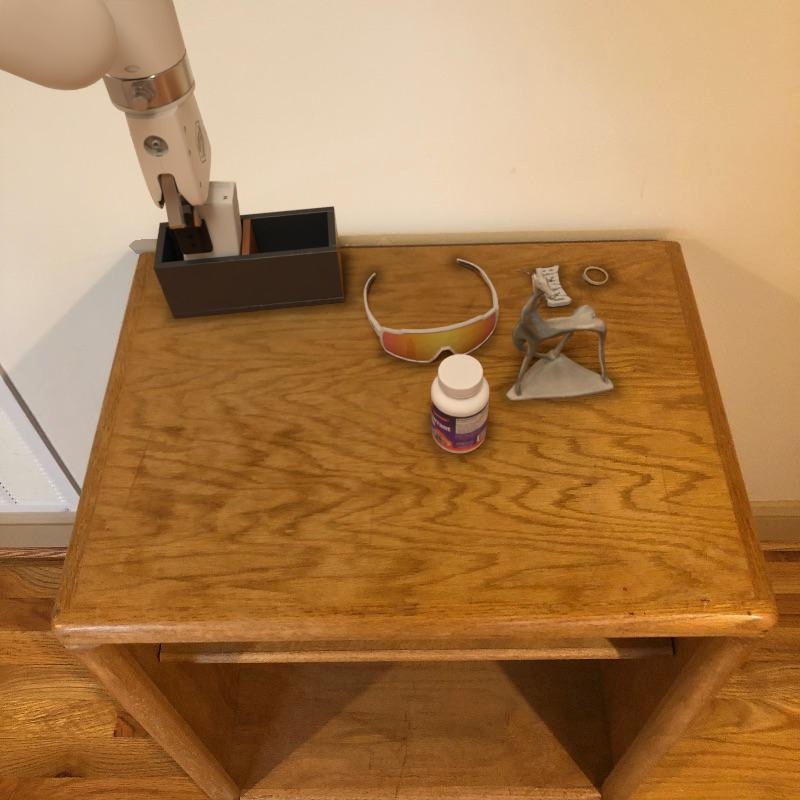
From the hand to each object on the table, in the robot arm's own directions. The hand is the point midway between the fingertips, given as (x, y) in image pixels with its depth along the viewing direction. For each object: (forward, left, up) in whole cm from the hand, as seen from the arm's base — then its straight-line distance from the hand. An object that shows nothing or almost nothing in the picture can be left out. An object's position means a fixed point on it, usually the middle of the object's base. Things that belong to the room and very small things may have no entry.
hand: (199, 234), depth 83 cm
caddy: (+5, 0, -9) cm, 10 cm away
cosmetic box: (+1, -1, -7) cm, 7 cm away
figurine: (+36, -16, -9) cm, 40 cm away
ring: (+43, -3, -9) cm, 44 cm away
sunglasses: (+24, -6, -9) cm, 26 cm away
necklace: (+37, -4, -9) cm, 38 cm away
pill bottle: (+25, -22, -9) cm, 35 cm away
